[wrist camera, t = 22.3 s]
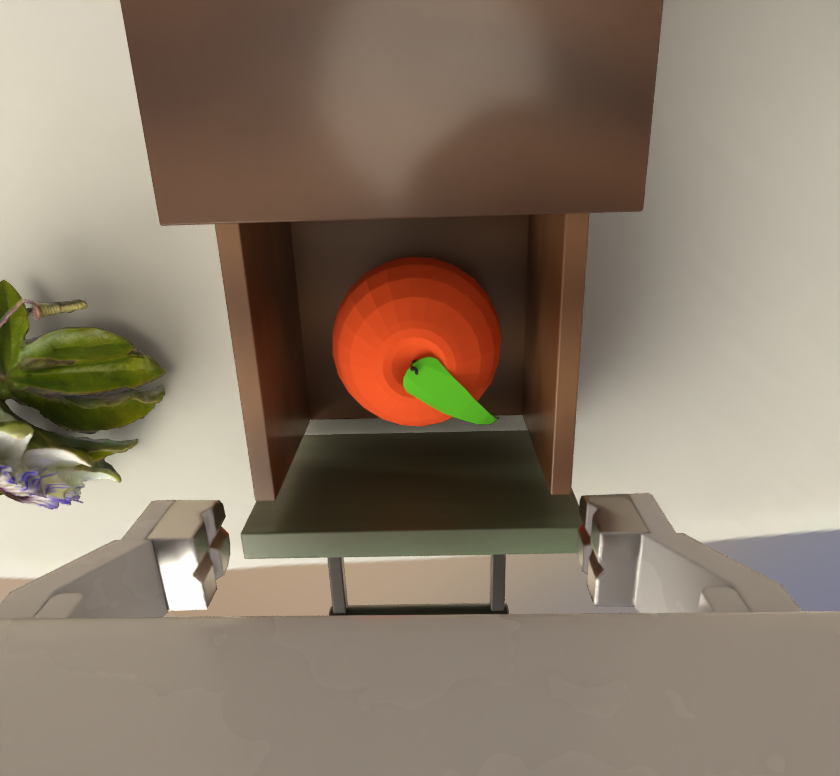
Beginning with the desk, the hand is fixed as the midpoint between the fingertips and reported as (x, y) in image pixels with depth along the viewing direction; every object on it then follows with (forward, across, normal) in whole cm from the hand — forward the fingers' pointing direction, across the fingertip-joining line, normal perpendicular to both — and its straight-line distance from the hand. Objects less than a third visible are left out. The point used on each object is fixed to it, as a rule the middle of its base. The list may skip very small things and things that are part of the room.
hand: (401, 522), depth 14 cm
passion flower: (+18, +19, +3) cm, 26 cm away
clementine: (+16, 0, 0) cm, 16 cm away
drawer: (+17, 0, +1) cm, 17 cm away
